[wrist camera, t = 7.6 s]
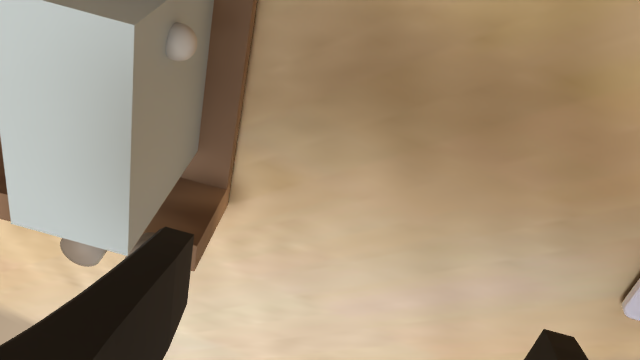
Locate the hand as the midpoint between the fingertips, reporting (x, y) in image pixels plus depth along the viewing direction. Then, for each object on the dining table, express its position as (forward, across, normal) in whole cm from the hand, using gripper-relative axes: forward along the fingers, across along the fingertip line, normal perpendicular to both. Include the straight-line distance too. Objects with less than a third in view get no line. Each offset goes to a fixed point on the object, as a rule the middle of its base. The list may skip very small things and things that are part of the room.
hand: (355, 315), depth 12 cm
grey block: (+9, +8, 0) cm, 12 cm away
